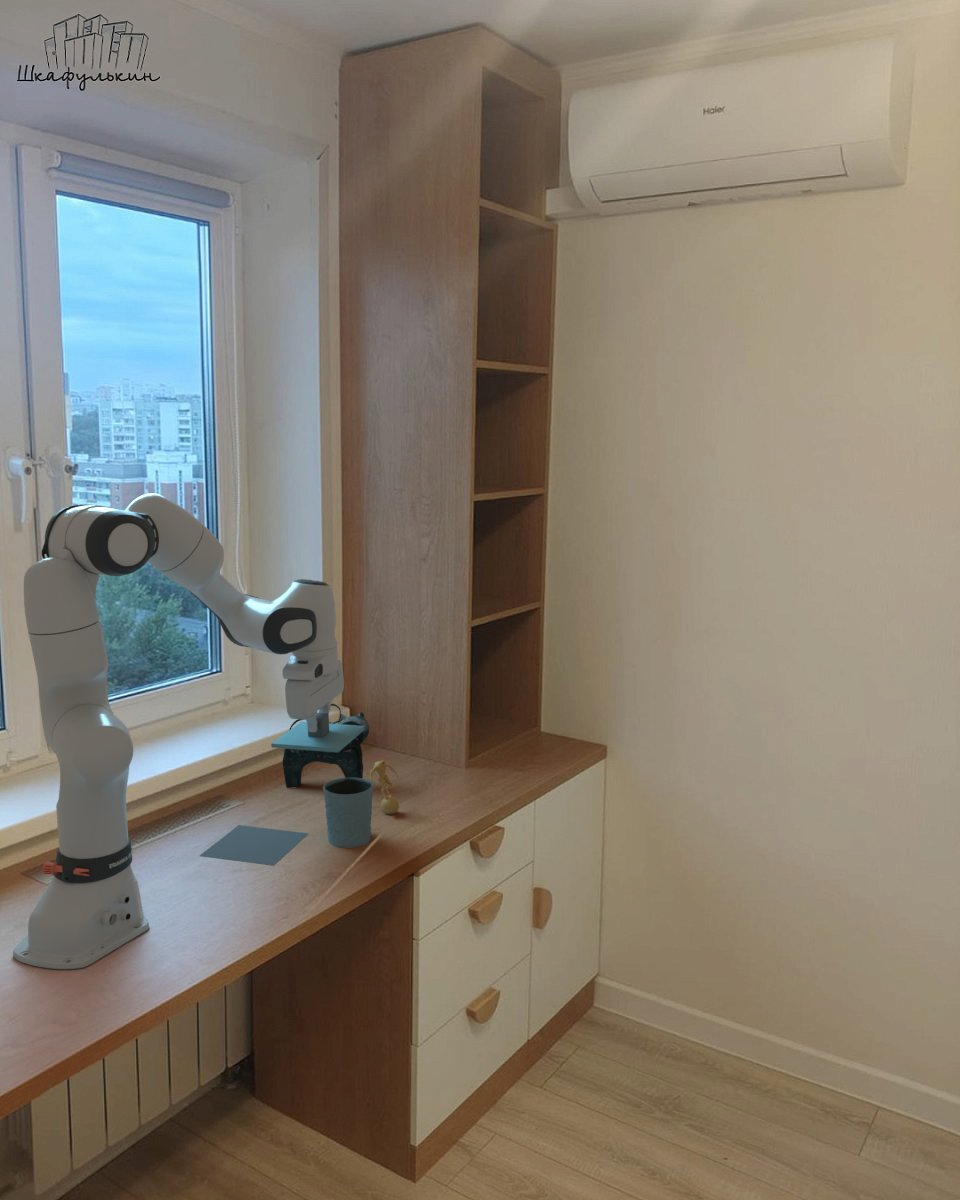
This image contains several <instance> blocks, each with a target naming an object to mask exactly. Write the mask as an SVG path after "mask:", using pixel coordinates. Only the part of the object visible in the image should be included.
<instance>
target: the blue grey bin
mask: <svg viewBox="0 0 960 1200" xmlns="http://www.w3.org/2000/svg"><path fill="white" fill-rule="evenodd" d="M373 783H374V782H373V781H372V782H371V781H370V779H366V778H363V779H362V778H345V777H343V778H342V777H340V778H336V779H333V780H330V781H327V782H326V783H324V784H323V787H322V789H323V790H322V791H323V796H324V798H323V799H324V802H325V805H324V806H325V818H326V826H327V827H326V830H327V840H328V841H327V842H328V844H330V845H332V846H334V847H337V848H348V849H351V848H358V847H361V846H364V845H366V844H368V843H369V842H370V841H371V839H372V838H371V837H372V813H373V812H372V809H373V796H374V787H373V786H374V784H373Z"/></svg>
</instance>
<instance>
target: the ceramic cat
mask: <svg viewBox="0 0 960 1200" xmlns="http://www.w3.org/2000/svg"><path fill="white" fill-rule="evenodd" d="M330 707H335V708H337V709H338V711H339V717H338V720H336V721H334V722H331V721H329V724H343V725H358V726H364V727H365V730H364V731H363V732H361V733H360V734H359V735H358V736H357V737H356V738H354V739H353V740H352V741H351V742H350V743H349V744H347V745H346V746H345V747H344V748H343V749H342V750H341V751H339V752H325V751H312V750H299V749H286V748H283V757H282V768H283V774H284V776H283V777H284V783H285V787H286V788H289V787H299V788H300V786H301V785H302V774H303V771H304V767H306V766H307V765H309V764H311V763H315V762H316V763H317V762H319V763H323V764H328V765H329V764H330V765H337V766H338V767H339V768H340V769H341V772H342V774H343V776H344V778H362V779H364V778H363V777H364V775H363V774H364V764H363V751H362V748H361V745H362V744H363V742H364V741H365V740H366V739H367V738H368V736H369V734H370V724H369V722H368V720H366V718H365V715H364V714H365V713H363V711H360V712H359V713H358V714H357V715H352V716H346V715H345V714H343V713H342V710H341V709H340V706H339V705H338V704H336V703H331V706H330ZM304 720H305V721H306V719H304ZM302 721H303V720H302V719H295V720H294V721H293V722H292V723H291V725H290V727H289V730H290V729H292V728H293V727H294V726H295V725H296V724H298V723H299V722H302ZM289 730H288V731H289Z"/></svg>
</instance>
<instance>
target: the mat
mask: <svg viewBox="0 0 960 1200" xmlns="http://www.w3.org/2000/svg"><path fill="white" fill-rule="evenodd" d="M308 835H309V833H308V832H301V831H291V830H284V829H276V828H275V829H274V828H269V827H268V828H267V827H259V826H253V825H252V826H251V825H242V824H238V825H237V826H235V827H234V828H233V829H232V830H230V831H229V832H228V833H226V834H225V835H224V836H223V837H222V838H220V839H218V840H217V841H216V842H215V843H214V844H213V845H211V846H210V847H208V848H207V849H206V850H204V852H202V853H201V854H200V855H199V857H203V858H212V859H220V860H225V861H226V860H227V861H235V862H242V863H249V864H256V865H257V864H259V865H265V866H273V867H275V865H277V864H278V863H279V861H281V860H282V859H283V858H284V857H285V856H286V855H287V854H288V853H289V852H291V850H293V849H294V848H295V847H296V846H297V845H298V844H299V843H300V842H302V840H304V838H305V837H307V836H308Z"/></svg>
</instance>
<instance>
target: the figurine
mask: <svg viewBox="0 0 960 1200" xmlns="http://www.w3.org/2000/svg"><path fill="white" fill-rule="evenodd" d="M387 768H389V769H390V770H391V771H392V772H393V773H394V774H395V775H396V778H399V776H398V773H397V772H396V771H395V769H394V768H393V767H392V766H391V765H390V764H389V763H386V761H385V759H382V760H377V761H375V762H374V764H373V768H372V769H371V770H370V772H369V781H371V782H372V783H373V788H374V787H375V784H374V782H373V773H375V772H376V773H377V775H378V778H377V782H379V784H380V786H381V787H382V788H381V794H382V795H383V799H382V800H381V801H380V810H381V812H382V813H383V814H385V815H386V816H387V815H388V816H391V815H395V814H396V813H397V812H398V810H399V807H400V803H399V801H398V799H397V798H396V797H394V795H393V794H392V793H391V792H390V791H389V790H390V789H391V787H392V785H393V782H391V780H390V778H389V776H388V774H386V770H387ZM385 790H386V792H387V794H386V793H385ZM387 795H388V796H387Z"/></svg>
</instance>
